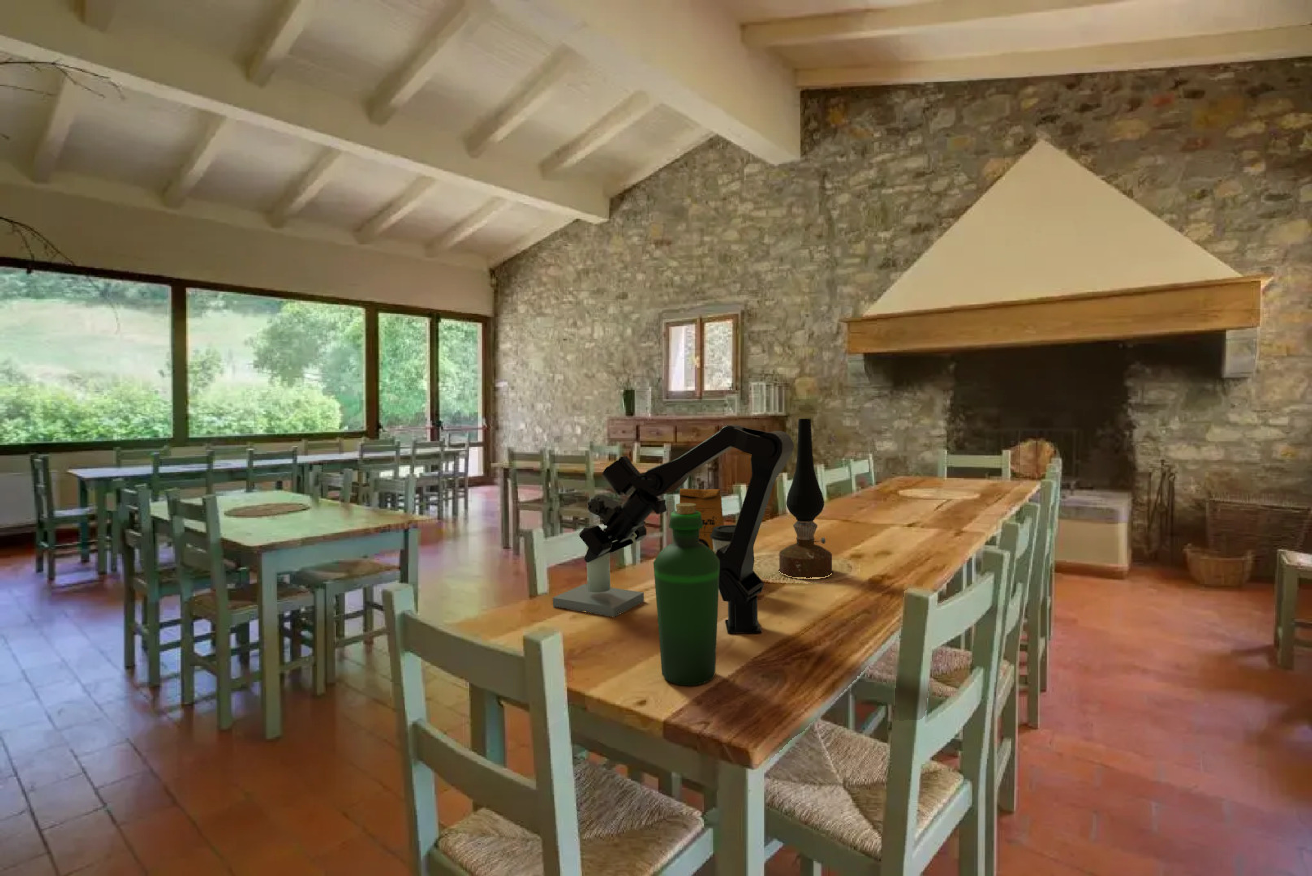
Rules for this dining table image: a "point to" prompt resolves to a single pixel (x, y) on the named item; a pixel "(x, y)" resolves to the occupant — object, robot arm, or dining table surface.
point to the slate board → (599, 600)
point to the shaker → (598, 574)
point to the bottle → (687, 601)
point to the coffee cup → (722, 537)
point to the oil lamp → (805, 515)
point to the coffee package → (705, 510)
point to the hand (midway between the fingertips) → (593, 558)
